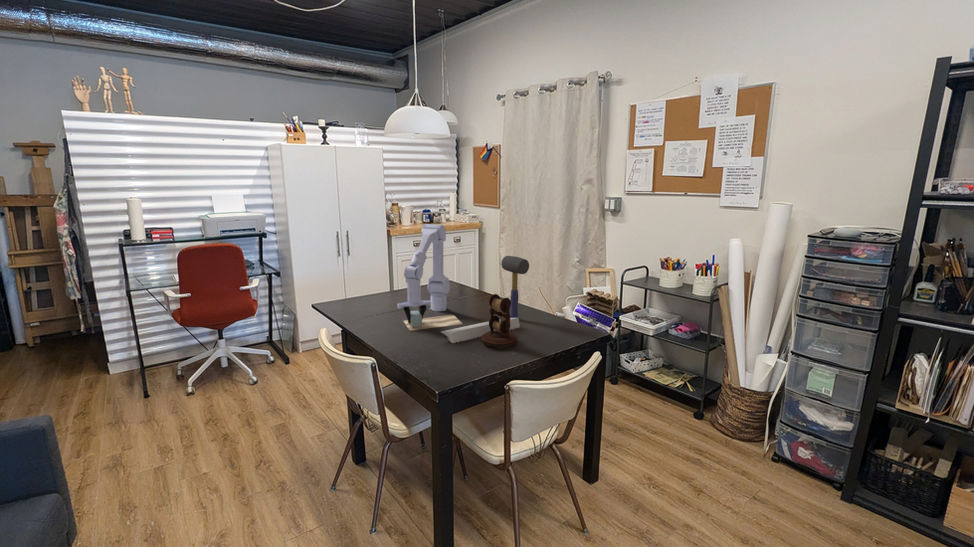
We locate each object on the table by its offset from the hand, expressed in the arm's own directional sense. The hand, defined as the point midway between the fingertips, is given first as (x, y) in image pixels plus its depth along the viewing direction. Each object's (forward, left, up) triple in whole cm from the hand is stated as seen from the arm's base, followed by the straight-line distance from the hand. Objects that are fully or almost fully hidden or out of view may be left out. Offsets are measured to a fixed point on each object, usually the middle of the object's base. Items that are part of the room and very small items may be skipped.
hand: (415, 322), depth 201 cm
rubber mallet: (+5, +46, -3) cm, 46 cm away
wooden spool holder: (+30, +28, -3) cm, 41 cm away
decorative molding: (+15, +26, -3) cm, 30 cm away
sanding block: (0, 0, -1) cm, 1 cm away
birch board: (0, +8, -2) cm, 8 cm away
